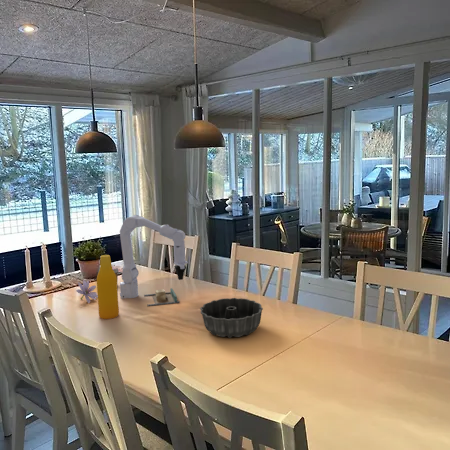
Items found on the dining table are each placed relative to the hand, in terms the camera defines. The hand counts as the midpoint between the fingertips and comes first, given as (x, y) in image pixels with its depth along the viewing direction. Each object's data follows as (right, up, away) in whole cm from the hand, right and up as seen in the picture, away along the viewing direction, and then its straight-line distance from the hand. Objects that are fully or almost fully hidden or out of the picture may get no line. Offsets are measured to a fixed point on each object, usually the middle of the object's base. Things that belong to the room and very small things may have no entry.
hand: (180, 279), depth 228 cm
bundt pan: (+26, -17, -42) cm, 52 cm away
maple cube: (-10, -10, -2) cm, 14 cm away
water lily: (-49, -12, +3) cm, 50 cm away
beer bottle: (-32, -15, -22) cm, 41 cm away
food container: (-46, -8, +29) cm, 55 cm away
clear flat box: (-8, -11, -1) cm, 14 cm away
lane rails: (-10, -11, -1) cm, 15 cm away
